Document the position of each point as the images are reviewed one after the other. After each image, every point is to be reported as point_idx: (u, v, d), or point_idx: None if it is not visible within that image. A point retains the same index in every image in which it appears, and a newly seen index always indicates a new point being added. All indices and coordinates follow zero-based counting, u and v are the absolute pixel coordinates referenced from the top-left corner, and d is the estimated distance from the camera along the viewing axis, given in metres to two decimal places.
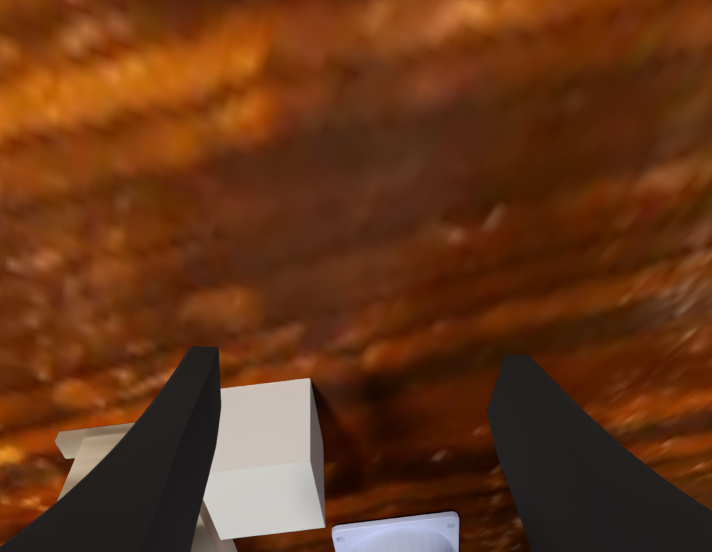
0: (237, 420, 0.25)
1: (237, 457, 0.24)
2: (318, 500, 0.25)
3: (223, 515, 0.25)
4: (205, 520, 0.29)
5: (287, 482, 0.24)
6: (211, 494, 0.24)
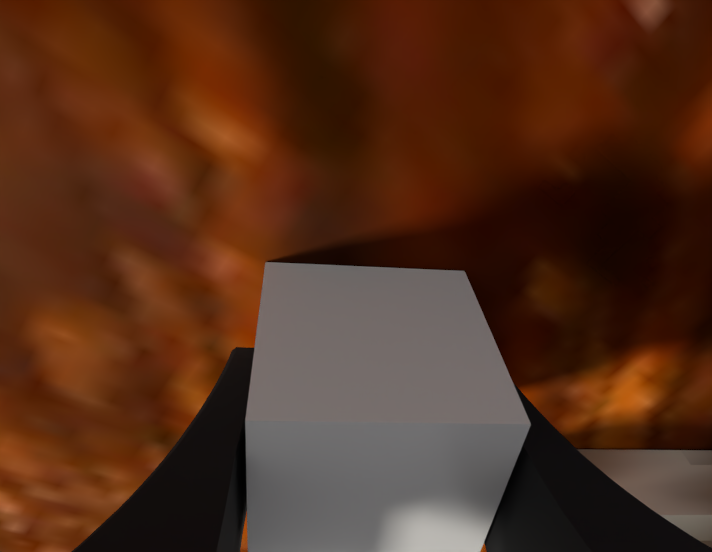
0: None
1: None
2: (413, 422, 0.09)
3: None
4: None
5: (315, 466, 0.10)
6: None
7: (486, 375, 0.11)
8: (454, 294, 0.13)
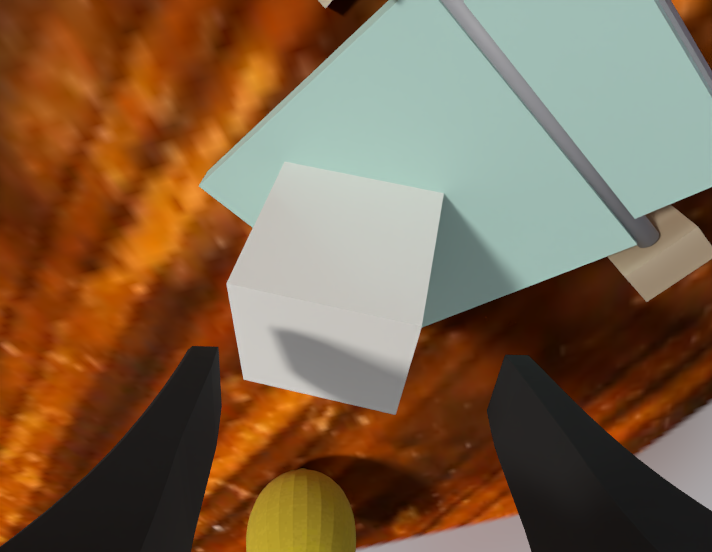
0: None
1: None
2: (338, 307, 0.14)
3: (338, 392, 0.17)
4: None
5: (276, 320, 0.15)
6: (286, 383, 0.17)
7: (409, 284, 0.14)
8: (422, 213, 0.16)
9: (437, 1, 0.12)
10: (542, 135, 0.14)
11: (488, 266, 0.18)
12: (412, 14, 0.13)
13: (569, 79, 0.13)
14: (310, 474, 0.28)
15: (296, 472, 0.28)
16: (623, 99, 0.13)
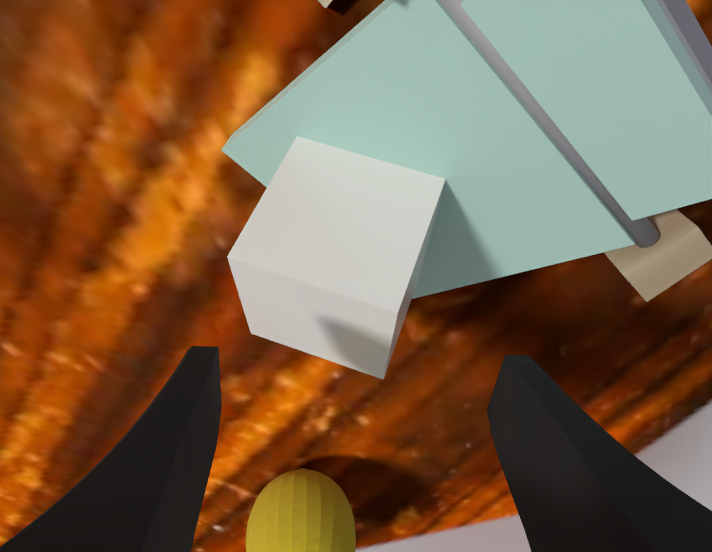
0: None
1: None
2: (324, 287, 0.15)
3: (332, 354, 0.18)
4: None
5: (272, 291, 0.16)
6: (287, 341, 0.19)
7: (394, 270, 0.15)
8: (420, 199, 0.16)
9: (435, 2, 0.12)
10: (540, 135, 0.14)
11: (489, 248, 0.19)
12: (411, 12, 0.13)
13: (566, 85, 0.13)
14: (310, 474, 0.28)
15: (296, 472, 0.28)
16: (620, 109, 0.13)
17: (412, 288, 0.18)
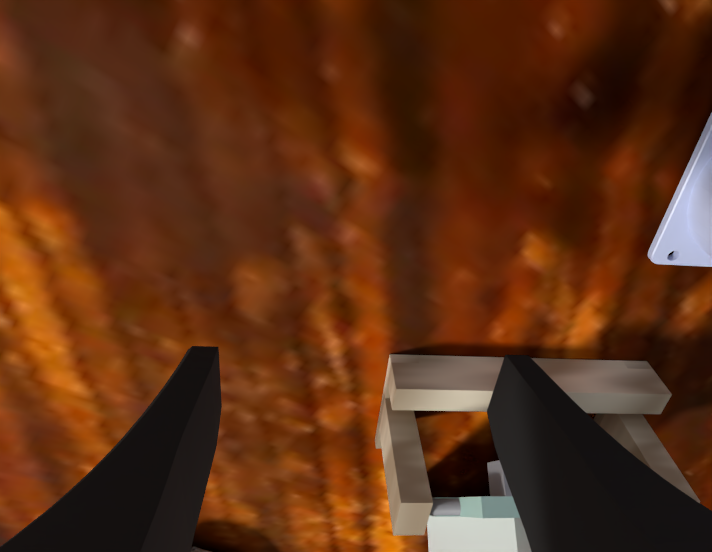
0: None
1: None
2: None
3: None
4: None
5: None
6: None
7: None
8: (506, 536, 0.28)
9: None
10: None
11: None
12: None
13: None
14: None
15: None
16: None
17: None
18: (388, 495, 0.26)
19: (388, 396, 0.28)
